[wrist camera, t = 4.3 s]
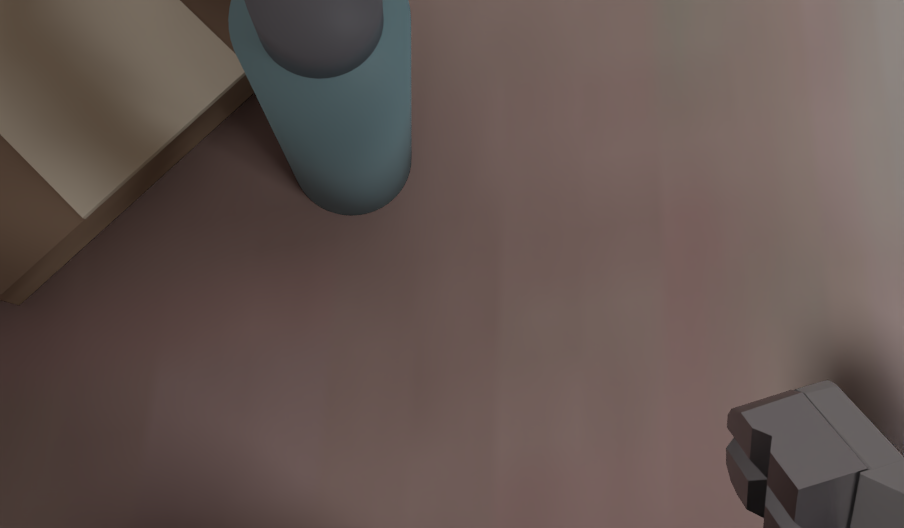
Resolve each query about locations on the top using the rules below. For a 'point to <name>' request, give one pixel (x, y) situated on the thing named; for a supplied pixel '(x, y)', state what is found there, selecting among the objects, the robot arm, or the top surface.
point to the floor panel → (99, 116)
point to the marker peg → (333, 92)
